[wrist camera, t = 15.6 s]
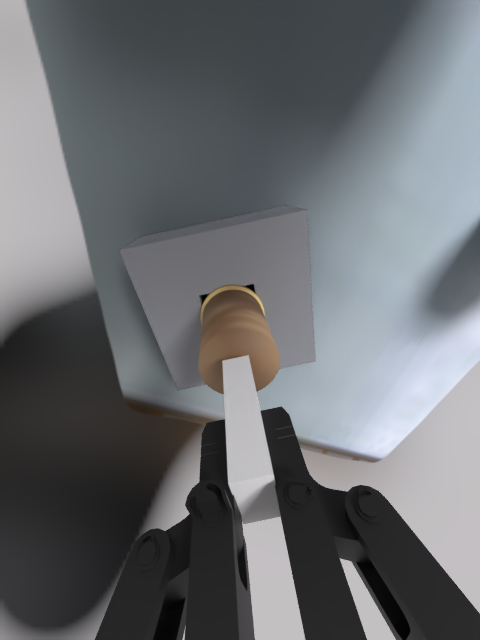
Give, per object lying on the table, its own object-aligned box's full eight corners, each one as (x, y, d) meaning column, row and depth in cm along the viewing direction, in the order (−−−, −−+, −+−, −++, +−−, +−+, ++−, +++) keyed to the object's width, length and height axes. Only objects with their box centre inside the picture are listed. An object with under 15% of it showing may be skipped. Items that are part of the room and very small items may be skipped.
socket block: (285, 205, 23) (306, 209, 18) (297, 330, 30) (315, 361, 24) (140, 236, 23) (118, 250, 18) (184, 354, 30) (177, 390, 25)
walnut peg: (249, 259, 25) (277, 317, 14) (257, 306, 28) (287, 388, 16) (197, 271, 25) (183, 337, 14) (210, 316, 28) (207, 405, 16)
